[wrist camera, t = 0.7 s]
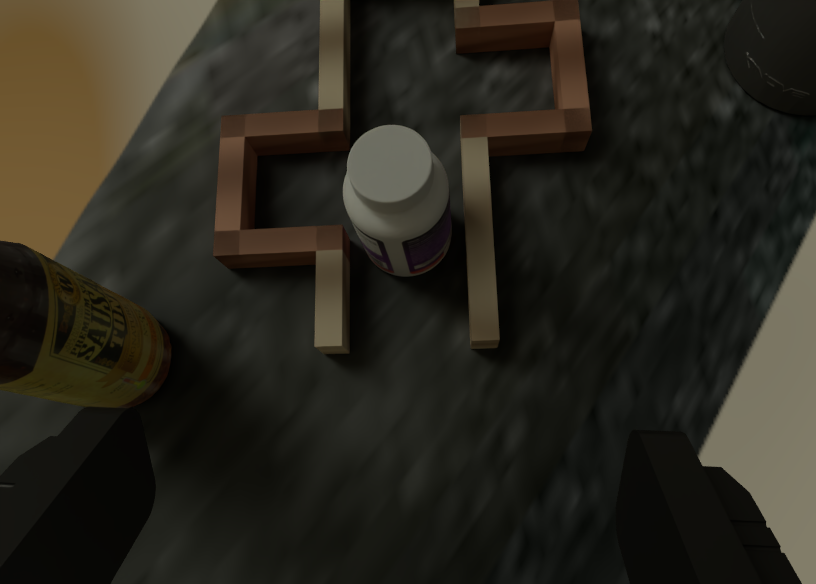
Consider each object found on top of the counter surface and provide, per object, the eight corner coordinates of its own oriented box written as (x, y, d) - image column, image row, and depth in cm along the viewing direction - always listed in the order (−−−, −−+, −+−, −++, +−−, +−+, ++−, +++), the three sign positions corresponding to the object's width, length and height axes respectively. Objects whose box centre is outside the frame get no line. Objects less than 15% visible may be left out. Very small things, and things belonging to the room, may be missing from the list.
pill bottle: (452, 194, 39) (449, 109, 29) (451, 279, 37) (447, 217, 28) (365, 195, 39) (335, 111, 30) (360, 278, 38) (327, 217, 28)
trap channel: (604, 344, 36) (621, 329, 32) (223, 357, 37) (196, 345, 33) (564, -38, 42) (574, -88, 39) (243, -13, 44) (223, -58, 40)
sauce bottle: (192, 383, 37) (-96, 300, 18) (94, 430, 37) (-305, 396, 18) (157, 287, 39) (-140, 116, 20) (63, 331, 38) (-331, 202, 19)
